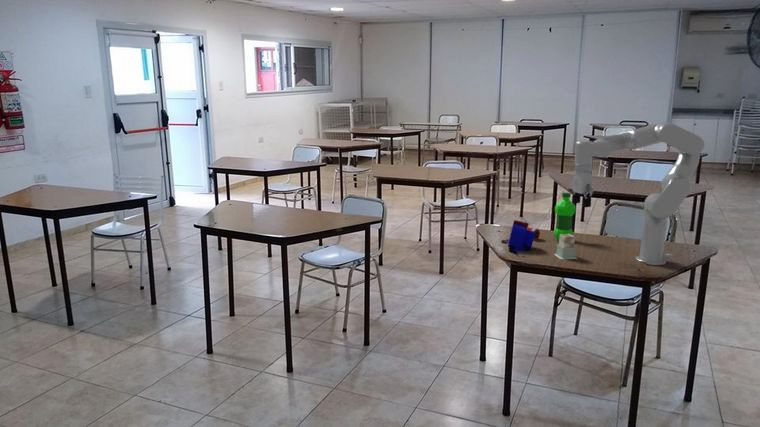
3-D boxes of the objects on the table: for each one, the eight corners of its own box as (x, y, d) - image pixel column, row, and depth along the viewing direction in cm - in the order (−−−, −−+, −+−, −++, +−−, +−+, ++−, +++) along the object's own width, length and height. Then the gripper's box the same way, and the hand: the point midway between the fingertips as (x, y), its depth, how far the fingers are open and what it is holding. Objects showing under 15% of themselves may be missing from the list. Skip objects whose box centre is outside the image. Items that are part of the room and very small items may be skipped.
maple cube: (569, 244, 264) (569, 234, 263) (574, 247, 260) (574, 236, 258) (558, 244, 264) (559, 234, 263) (563, 247, 259) (564, 237, 258)
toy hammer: (511, 246, 285) (512, 234, 283) (493, 241, 294) (494, 229, 292) (540, 239, 298) (540, 227, 297) (522, 235, 307) (522, 223, 306)
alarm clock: (508, 246, 284) (509, 217, 281) (533, 248, 281) (535, 218, 278) (507, 252, 272) (508, 222, 269) (533, 254, 269) (535, 224, 266)
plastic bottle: (575, 243, 290) (579, 195, 285) (554, 242, 291) (558, 194, 286) (570, 238, 300) (574, 191, 295) (550, 237, 301) (553, 191, 296)
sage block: (568, 254, 266) (569, 244, 265) (574, 258, 260) (575, 247, 259) (556, 254, 265) (557, 244, 264) (562, 258, 260) (562, 247, 258)
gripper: (566, 166, 265) (565, 202, 269) (585, 170, 248) (583, 209, 252) (581, 165, 266) (580, 201, 270) (601, 170, 249) (599, 208, 253)
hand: (581, 205), depth 261 cm, fingers open, 9 cm apart
